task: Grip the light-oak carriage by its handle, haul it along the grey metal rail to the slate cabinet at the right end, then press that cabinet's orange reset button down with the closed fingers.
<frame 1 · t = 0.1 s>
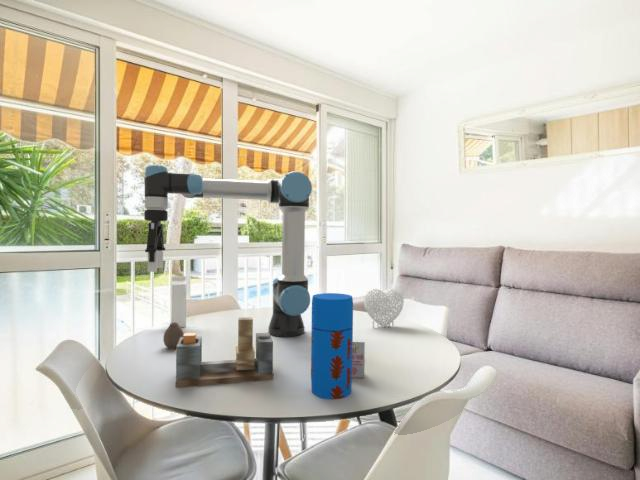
hand: (155, 269, 135), 28 cm above the table, fingers open, 13 cm apart
decorative heart: (383, 327, 172), on the table
reset button: (189, 338, 108), point 11 cm above the table, slide at 0.0 cm
white printed box: (352, 376, 112), on the table
thermos: (331, 391, 101), on the table
rail track: (225, 375, 111), on the table
carriage: (245, 342, 112), point 9 cm above the table, slide at -4.5 cm
milk: (178, 326, 169), on the table
vase: (173, 347, 137), on the table
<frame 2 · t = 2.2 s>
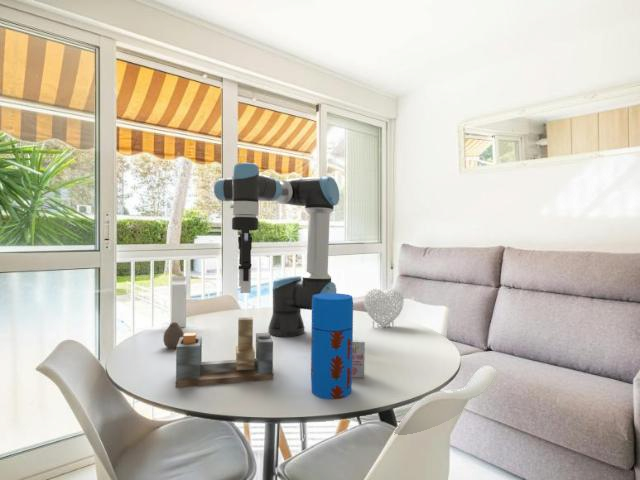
hand: (244, 289, 112), 25 cm above the table, fingers open, 13 cm apart
nothing on the table moved.
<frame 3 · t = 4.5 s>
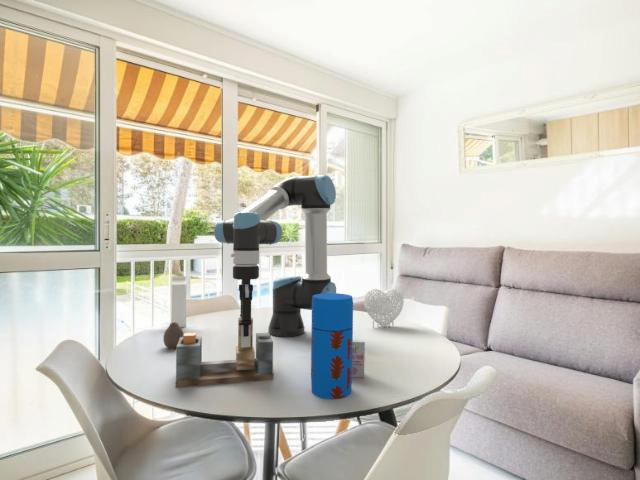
hand: (245, 344, 112), 9 cm above the table, fingers closed on carriage, 3 cm apart
carriage: (245, 342, 112), point 9 cm above the table, slide at -4.5 cm, touching gripper
everything else where it was.
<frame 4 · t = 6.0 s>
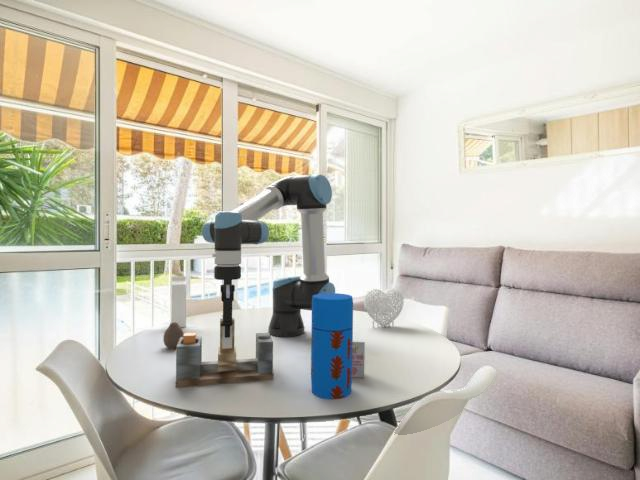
hand: (227, 345, 111), 9 cm above the table, fingers closed on carriage, 3 cm apart
carriage: (227, 343, 111), point 9 cm above the table, slide at 0.7 cm, touching gripper
everything else where it was.
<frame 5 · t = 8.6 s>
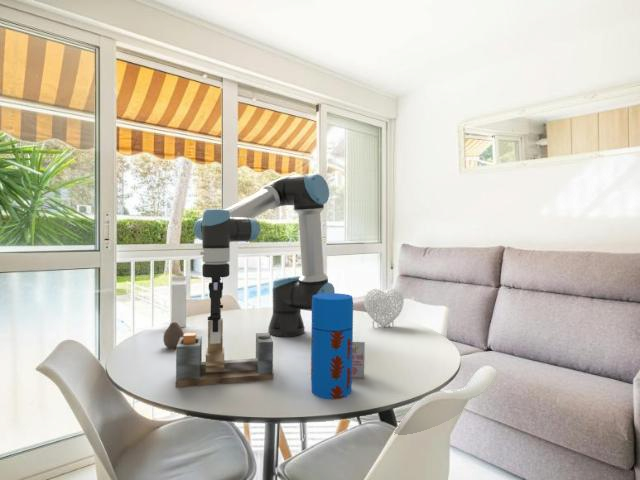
hand: (215, 336, 110), 11 cm above the table, fingers open, 13 cm apart
carriage: (215, 344, 110), point 9 cm above the table, slide at 4.0 cm
everything else where it was.
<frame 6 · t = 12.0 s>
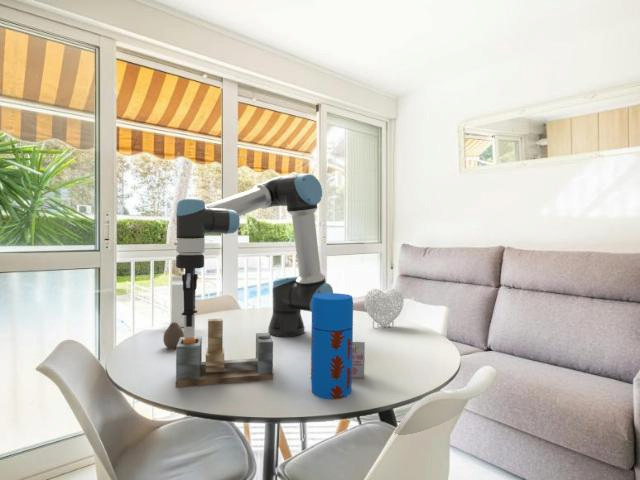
hand: (189, 337, 108), 12 cm above the table, fingers closed
reset button: (189, 342, 108), point 10 cm above the table, slide at 1.1 cm, touching gripper
everything else where it was.
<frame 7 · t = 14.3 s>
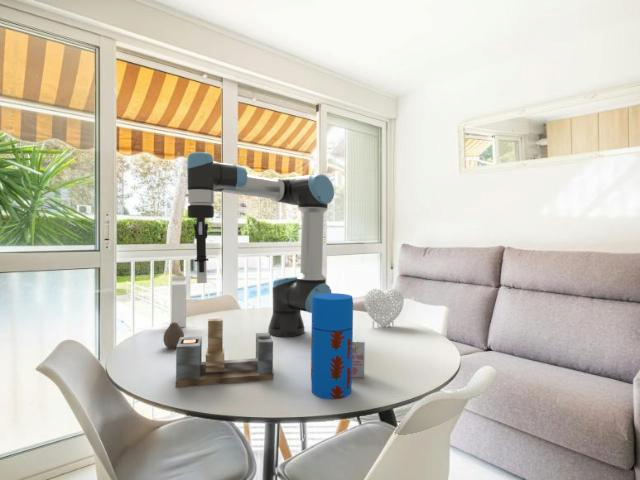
hand: (201, 282, 116), 26 cm above the table, fingers closed
reset button: (189, 345, 108), point 9 cm above the table, slide at 2.0 cm
everything else where it was.
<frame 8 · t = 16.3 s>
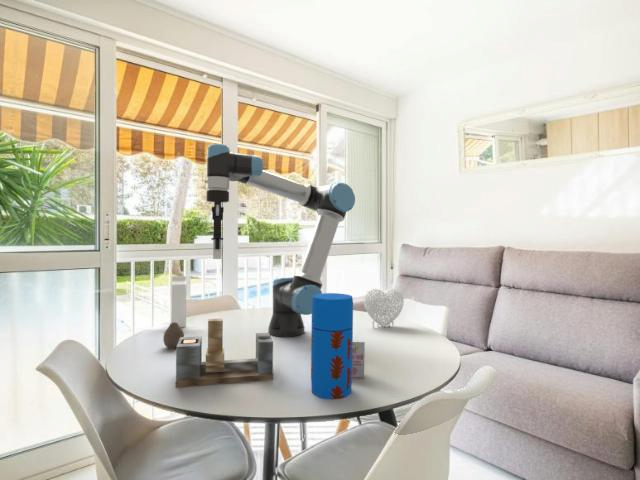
hand: (217, 258, 132), 32 cm above the table, fingers closed
nothing on the table moved.
at the end: carriage slide at 4.0 cm; reset button slide at 2.0 cm; the gripper is holding nothing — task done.
